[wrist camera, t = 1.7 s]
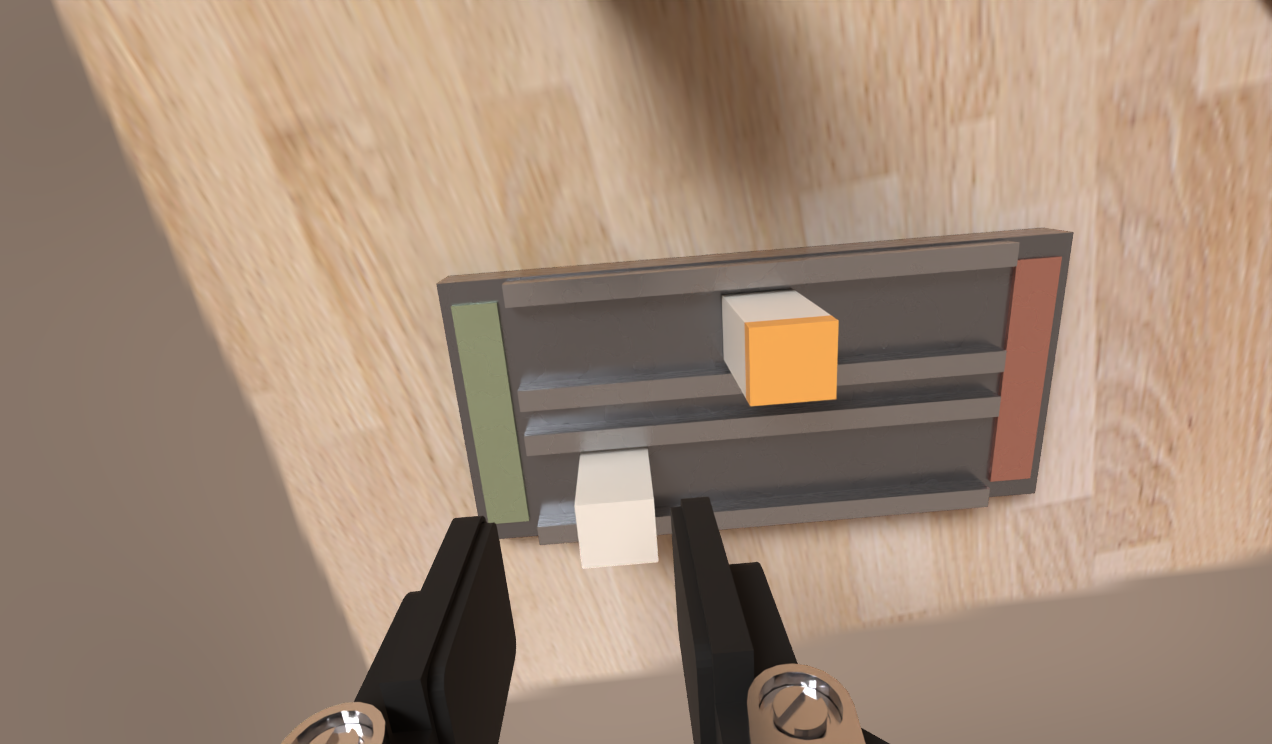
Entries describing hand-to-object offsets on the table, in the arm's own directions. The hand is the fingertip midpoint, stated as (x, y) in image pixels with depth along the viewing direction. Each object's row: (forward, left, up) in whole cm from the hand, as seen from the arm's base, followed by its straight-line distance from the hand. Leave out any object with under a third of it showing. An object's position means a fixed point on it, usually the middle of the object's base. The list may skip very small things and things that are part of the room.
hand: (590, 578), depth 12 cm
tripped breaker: (-7, 0, -17) cm, 19 cm away
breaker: (0, +7, -17) cm, 19 cm away
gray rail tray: (-7, +4, -19) cm, 21 cm away
